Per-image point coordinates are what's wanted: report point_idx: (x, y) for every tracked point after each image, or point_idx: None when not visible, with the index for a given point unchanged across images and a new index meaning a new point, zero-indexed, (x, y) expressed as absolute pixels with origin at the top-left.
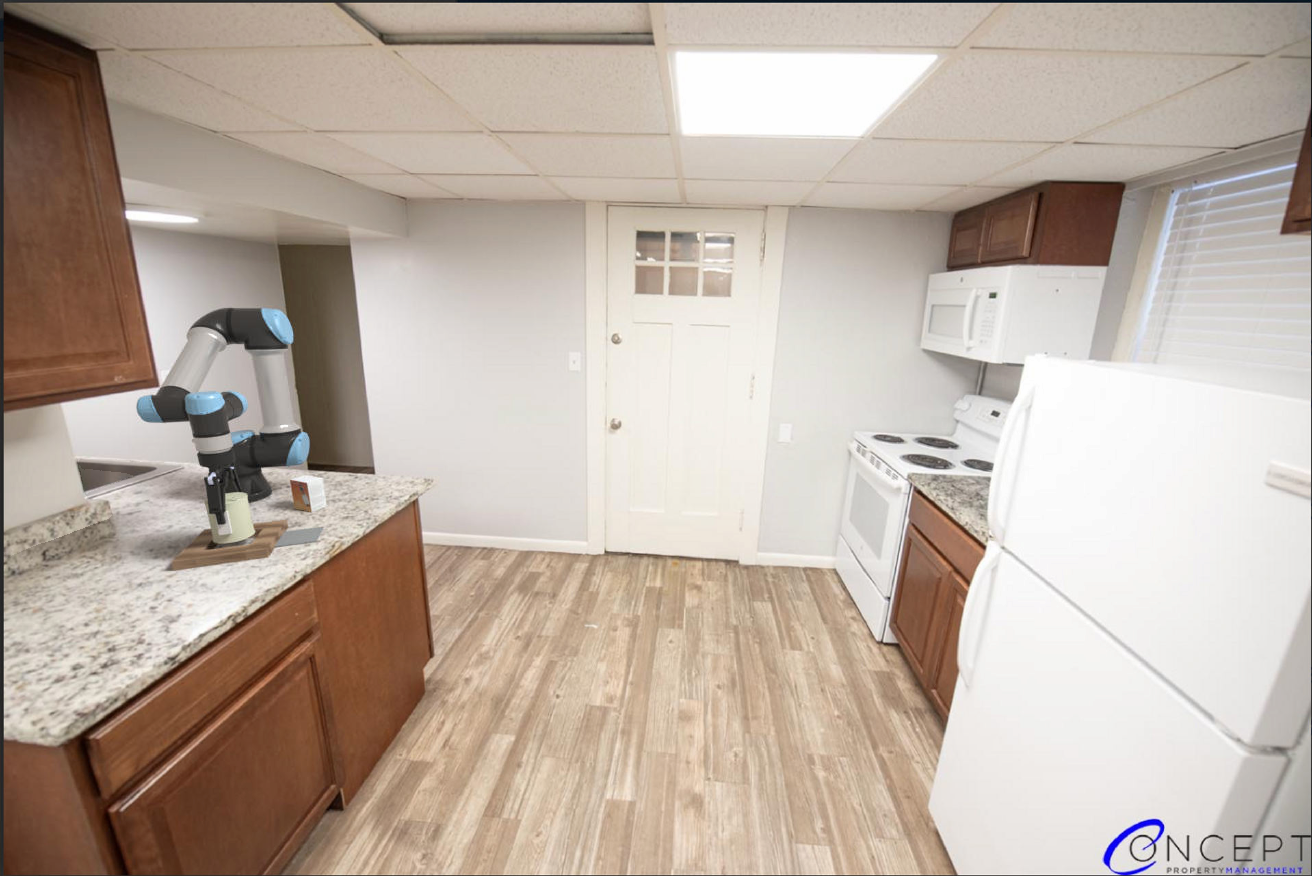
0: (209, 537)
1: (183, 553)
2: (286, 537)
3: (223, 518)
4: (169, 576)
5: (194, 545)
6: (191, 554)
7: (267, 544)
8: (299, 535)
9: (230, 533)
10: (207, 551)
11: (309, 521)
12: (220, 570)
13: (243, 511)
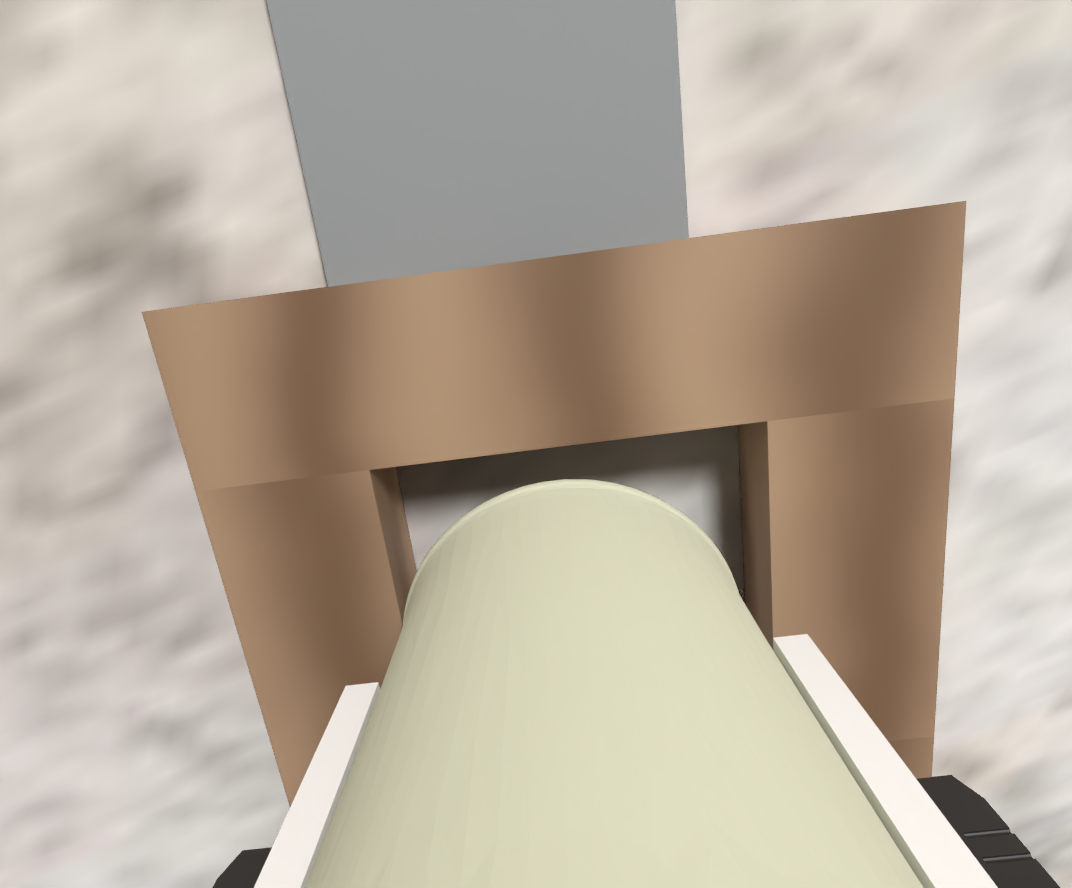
0: None
1: None
2: (492, 202)
3: (1021, 866)
4: (968, 777)
5: None
6: None
7: (836, 243)
8: (465, 71)
9: (807, 644)
10: None
11: (48, 129)
12: (1016, 505)
13: (737, 704)
